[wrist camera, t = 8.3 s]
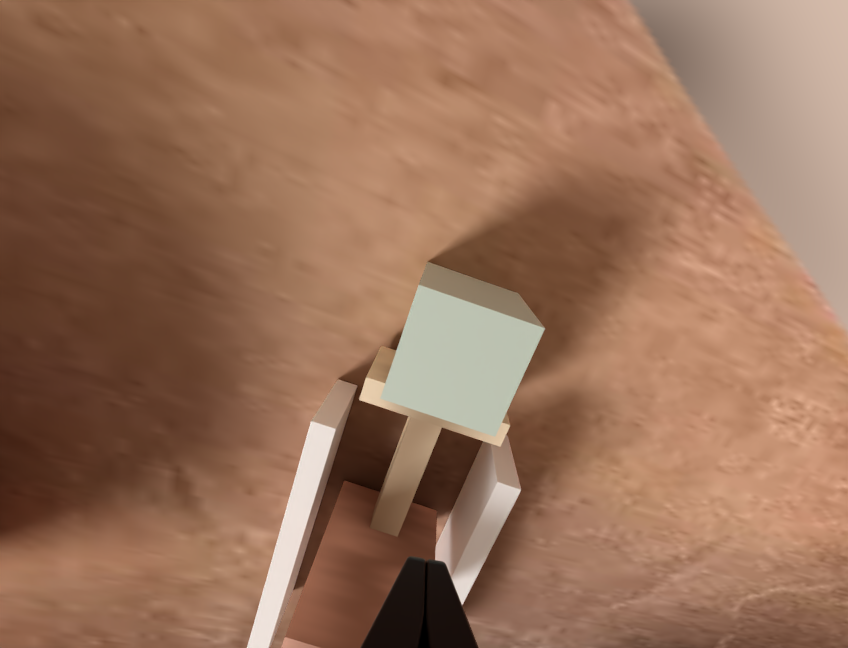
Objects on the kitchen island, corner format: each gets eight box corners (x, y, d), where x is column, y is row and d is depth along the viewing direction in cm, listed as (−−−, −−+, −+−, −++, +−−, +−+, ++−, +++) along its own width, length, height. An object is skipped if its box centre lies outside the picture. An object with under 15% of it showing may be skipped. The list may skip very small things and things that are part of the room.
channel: (507, 435, 23) (521, 489, 18) (416, 629, 28) (410, 706, 24) (337, 378, 22) (311, 420, 18) (276, 586, 27) (244, 656, 23)
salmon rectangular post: (499, 385, 21) (533, 508, 13) (435, 530, 25) (427, 706, 16) (381, 345, 21) (334, 443, 12) (331, 497, 24) (267, 658, 16)
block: (518, 293, 20) (544, 328, 15) (483, 375, 22) (495, 436, 16) (427, 261, 20) (418, 284, 14) (398, 346, 22) (380, 398, 16)
